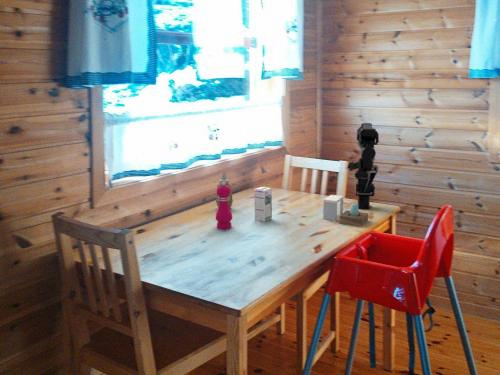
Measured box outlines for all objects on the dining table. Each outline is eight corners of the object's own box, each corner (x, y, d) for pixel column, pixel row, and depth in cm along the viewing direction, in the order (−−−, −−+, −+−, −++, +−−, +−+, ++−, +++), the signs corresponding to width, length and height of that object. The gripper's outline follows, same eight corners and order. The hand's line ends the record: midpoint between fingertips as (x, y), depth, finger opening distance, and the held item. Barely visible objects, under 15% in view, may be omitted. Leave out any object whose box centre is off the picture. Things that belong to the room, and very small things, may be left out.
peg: (351, 220, 249) (351, 203, 248) (358, 221, 248) (359, 204, 246) (349, 222, 246) (349, 205, 245) (356, 223, 245) (357, 206, 243)
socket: (346, 217, 254) (346, 210, 253) (367, 220, 249) (368, 213, 248) (339, 223, 245) (339, 216, 244) (361, 226, 241) (362, 218, 240)
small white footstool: (330, 213, 261) (331, 194, 259) (342, 214, 259) (343, 196, 256) (323, 218, 253) (323, 199, 250) (335, 220, 250) (336, 201, 248)
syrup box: (264, 221, 248) (264, 190, 245) (254, 219, 251) (253, 188, 248) (271, 219, 252) (272, 187, 249) (261, 216, 256) (261, 186, 253)
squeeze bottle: (213, 207, 271) (213, 171, 267) (228, 206, 275) (228, 170, 270) (219, 211, 264) (219, 174, 260) (235, 210, 267) (235, 173, 263)
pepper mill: (230, 229, 237) (229, 184, 232) (213, 229, 238) (213, 183, 233) (234, 225, 243) (233, 180, 239) (218, 224, 245) (217, 179, 240)
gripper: (356, 151, 264) (354, 183, 268) (343, 157, 248) (342, 192, 252) (379, 153, 259) (377, 186, 263) (368, 159, 243) (366, 194, 247)
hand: (365, 189), depth 256 cm, fingers open, 9 cm apart
